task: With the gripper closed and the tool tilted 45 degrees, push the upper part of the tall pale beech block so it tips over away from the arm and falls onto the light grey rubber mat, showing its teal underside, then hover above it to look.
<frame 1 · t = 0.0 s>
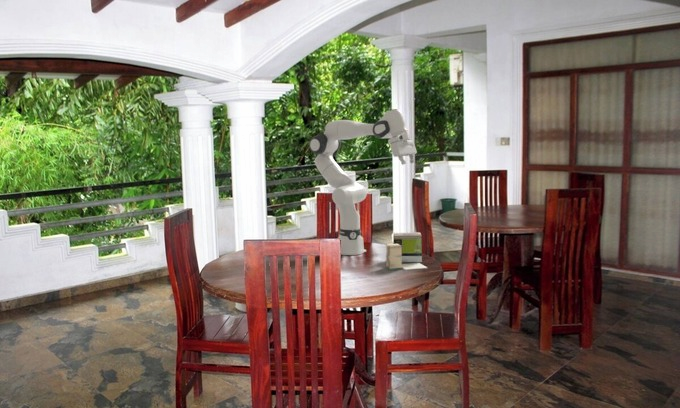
hand: (408, 163, 310), 52 cm above the table, tool tilted 20°, fingers open, 8 cm apart
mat: (412, 266, 304), on the table
tea box: (407, 261, 317), on the table
beech block: (393, 268, 301), on the table
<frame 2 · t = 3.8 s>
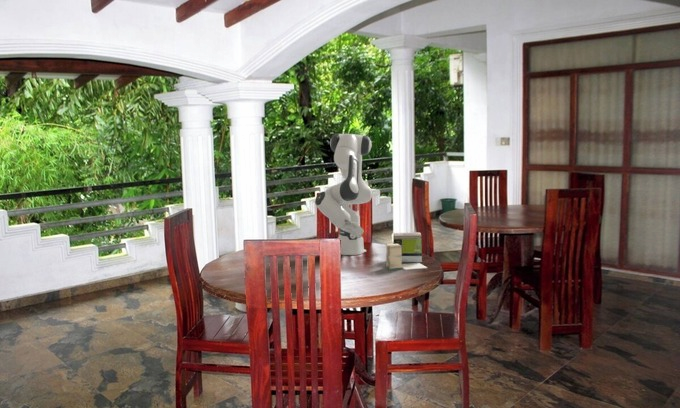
hand: (359, 237, 291), 18 cm above the table, tool tilted 45°, fingers closed
nothing on the table moved.
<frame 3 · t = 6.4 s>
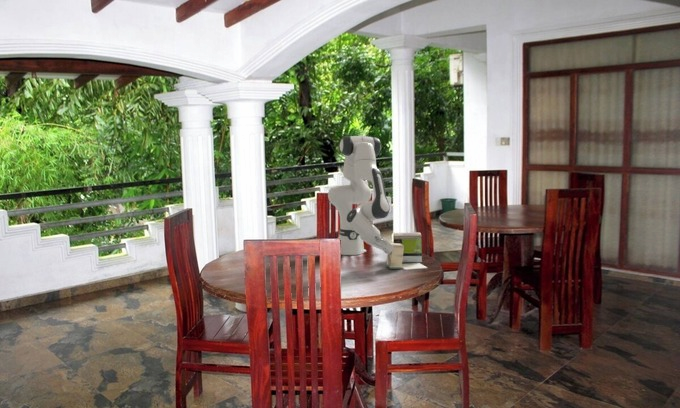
hand: (388, 252, 299), 8 cm above the table, tool tilted 45°, fingers closed
beech block: (393, 267, 301), on the table, tilted 6°
everything else where it was.
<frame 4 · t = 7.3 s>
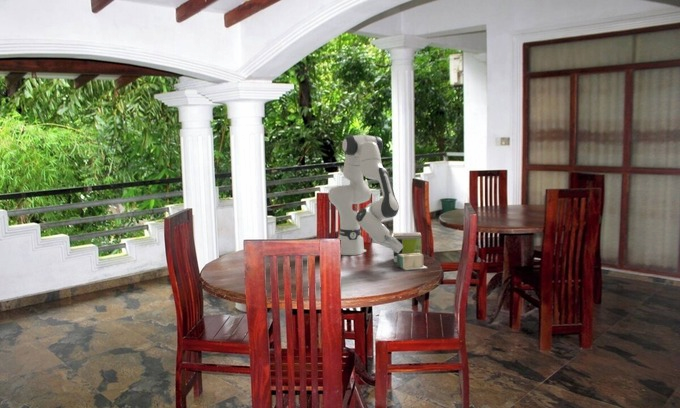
hand: (397, 251, 301), 8 cm above the table, tool tilted 45°, fingers closed
beech block: (399, 261, 301), point 3 cm above the table, tilted 90°, touching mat
everything else where it was.
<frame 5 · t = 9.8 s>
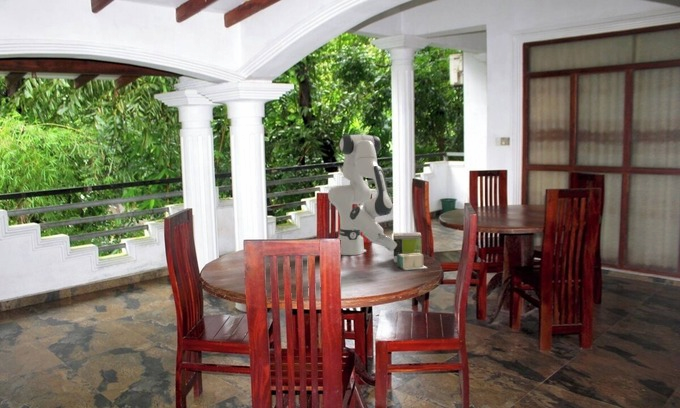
hand: (391, 249, 299), 10 cm above the table, tool tilted 45°, fingers closed
nothing on the table moved.
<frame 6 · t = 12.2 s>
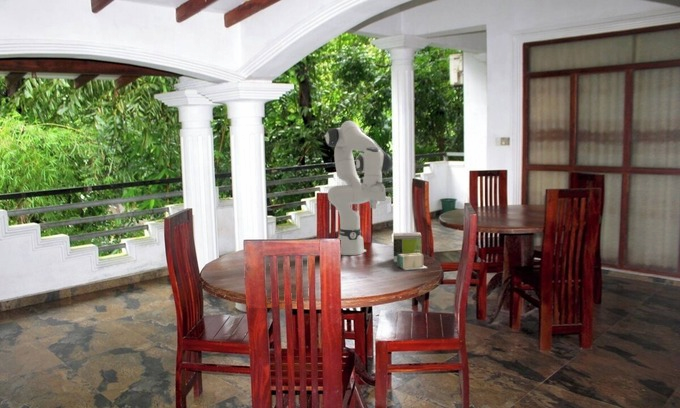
hand: (373, 208, 294), 31 cm above the table, tool pointing down, fingers closed
nothing on the table moved.
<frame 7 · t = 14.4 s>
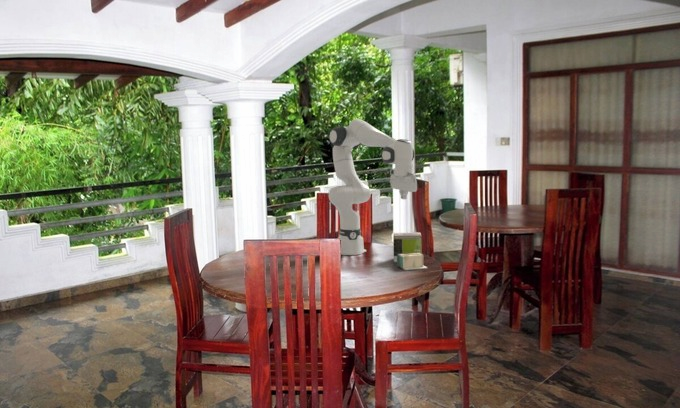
hand: (403, 199, 300), 35 cm above the table, tool pointing down, fingers closed
nothing on the table moved.
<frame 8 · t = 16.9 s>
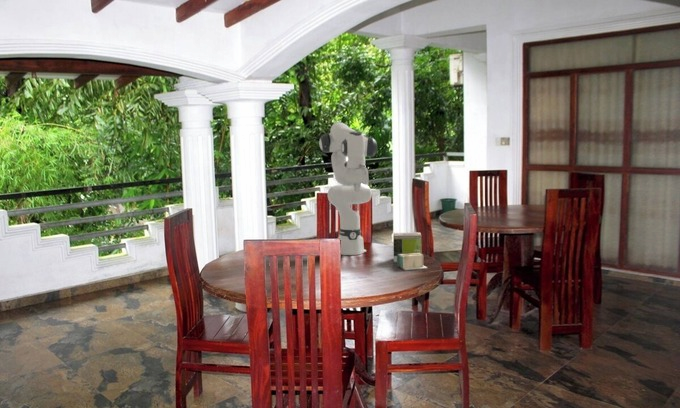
hand: (356, 191, 299), 39 cm above the table, tool pointing down, fingers closed
nothing on the table moved.
at the end: beech block tilted 90°; beech block inside the target area (5.1 cm from its centre), point 3.4 cm above the table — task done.
